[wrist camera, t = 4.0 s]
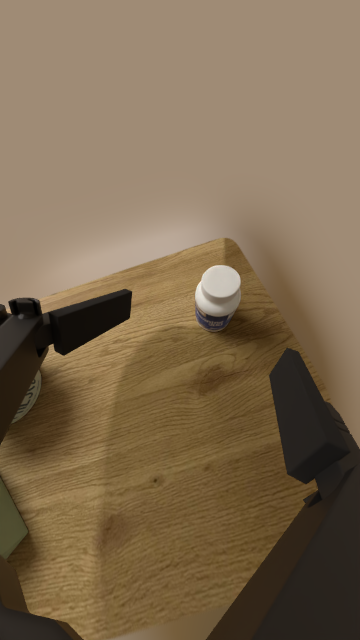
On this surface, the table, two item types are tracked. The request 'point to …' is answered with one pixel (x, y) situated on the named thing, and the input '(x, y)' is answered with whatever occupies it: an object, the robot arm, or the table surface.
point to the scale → (9, 524)
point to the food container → (29, 398)
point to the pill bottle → (217, 297)
